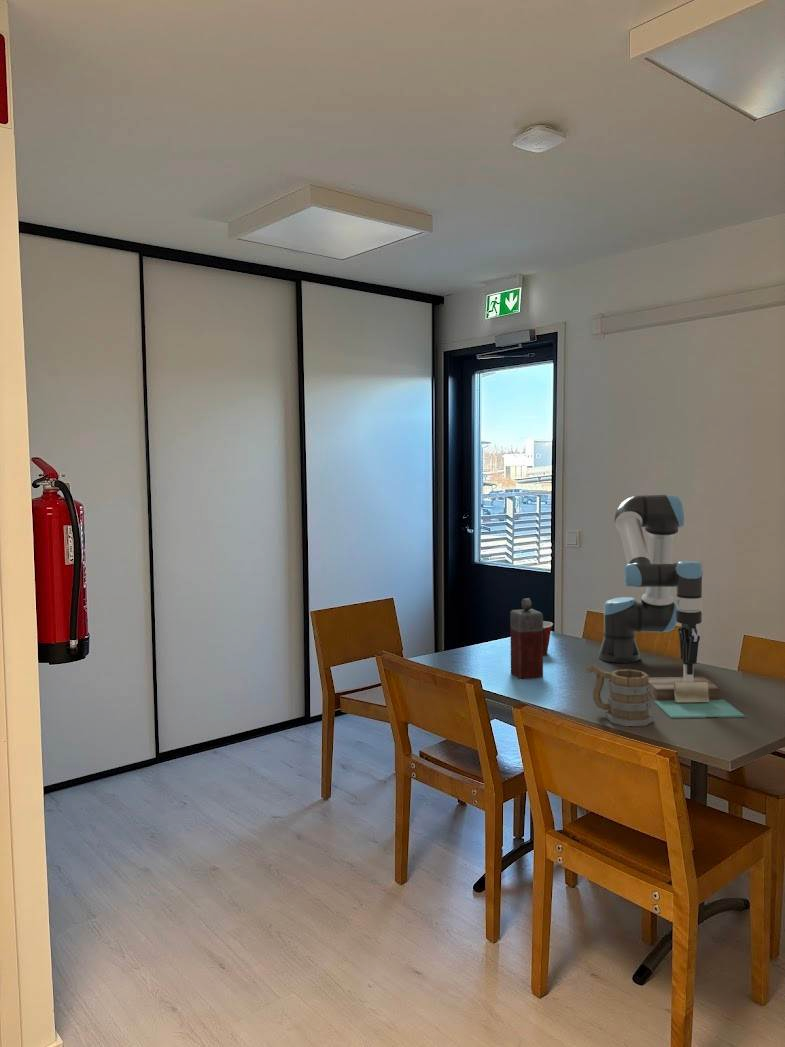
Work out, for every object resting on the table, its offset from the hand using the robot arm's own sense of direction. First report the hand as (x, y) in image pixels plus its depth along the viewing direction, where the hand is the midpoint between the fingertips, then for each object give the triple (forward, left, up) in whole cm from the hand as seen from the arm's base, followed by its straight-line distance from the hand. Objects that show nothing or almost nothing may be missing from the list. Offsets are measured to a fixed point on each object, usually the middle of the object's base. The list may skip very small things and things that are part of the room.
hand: (688, 683), depth 260 cm
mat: (+9, 0, -6) cm, 10 cm away
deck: (-7, 0, -6) cm, 9 cm away
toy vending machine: (-34, -45, -6) cm, 57 cm away
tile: (+2, 0, -2) cm, 3 cm away
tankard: (+15, -26, -6) cm, 31 cm away
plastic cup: (-67, -36, -6) cm, 76 cm away
